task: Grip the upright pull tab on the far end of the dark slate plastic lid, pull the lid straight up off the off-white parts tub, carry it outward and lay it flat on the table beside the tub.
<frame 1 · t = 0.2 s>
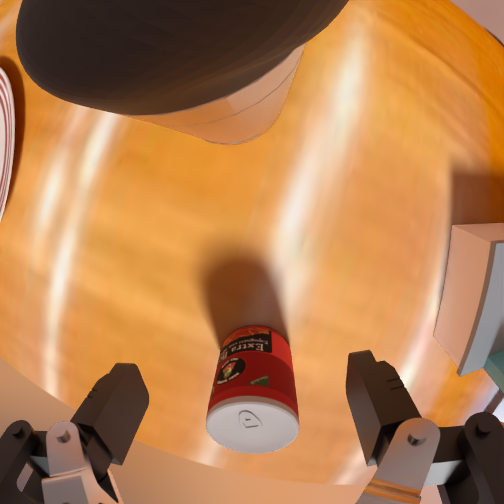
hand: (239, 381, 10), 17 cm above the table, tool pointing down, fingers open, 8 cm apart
tub: (478, 279, 26), on the table
canned food: (256, 351, 30), on the table
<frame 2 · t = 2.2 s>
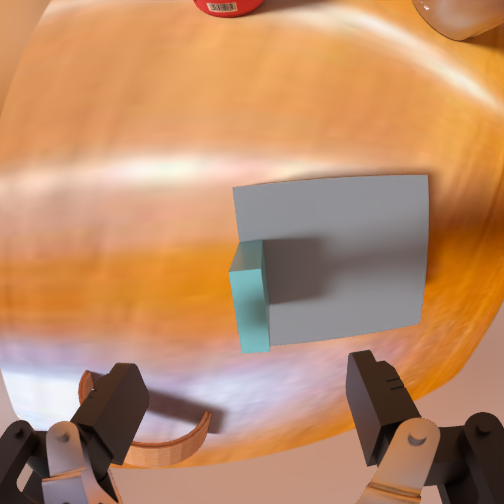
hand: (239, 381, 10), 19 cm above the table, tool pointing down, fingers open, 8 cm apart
lid: (341, 262, 21), point 7 cm above the table, touching tub
arch: (145, 403, 36), on the table
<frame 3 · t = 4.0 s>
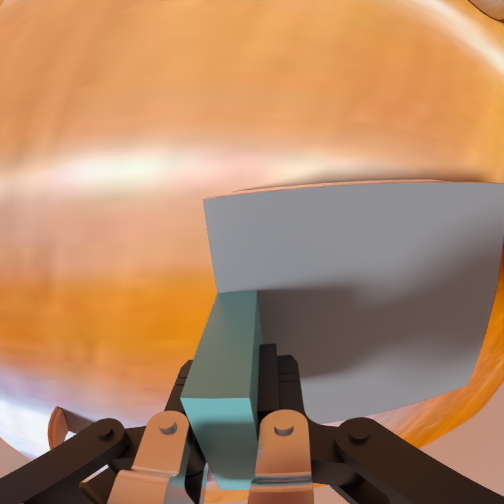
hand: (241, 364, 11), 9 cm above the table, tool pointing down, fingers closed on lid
tub: (344, 269, 19), on the table
lid: (380, 317, 12), point 7 cm above the table, touching gripper, tub
arch: (124, 446, 27), on the table
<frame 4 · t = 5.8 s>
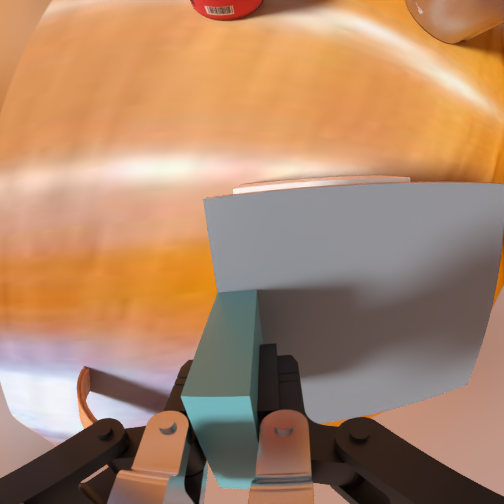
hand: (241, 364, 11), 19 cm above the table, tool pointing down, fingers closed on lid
tub: (316, 238, 28), on the table
lid: (380, 317, 13), point 16 cm above the table, touching gripper
arch: (142, 403, 36), on the table
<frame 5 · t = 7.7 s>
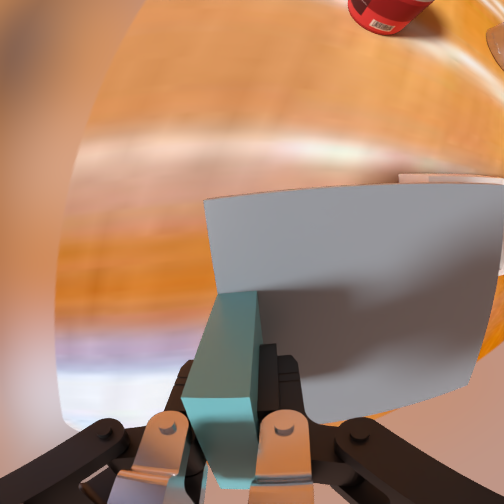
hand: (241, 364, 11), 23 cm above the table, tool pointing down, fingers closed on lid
tub: (443, 219, 31), on the table
canned food: (374, 14, 24), on the table
lid: (380, 317, 13), point 20 cm above the table, touching gripper
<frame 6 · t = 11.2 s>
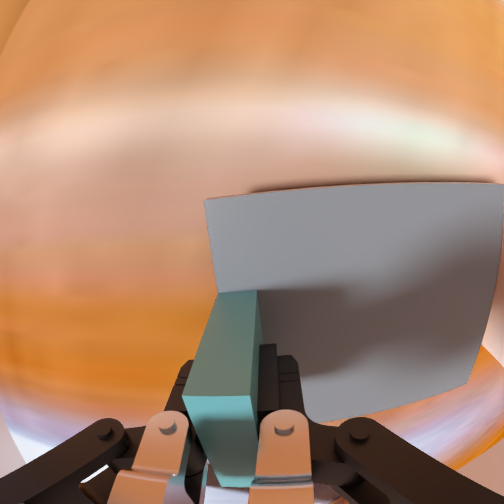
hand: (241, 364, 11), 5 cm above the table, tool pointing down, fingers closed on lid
lid: (379, 316, 13), point 2 cm above the table, touching gripper
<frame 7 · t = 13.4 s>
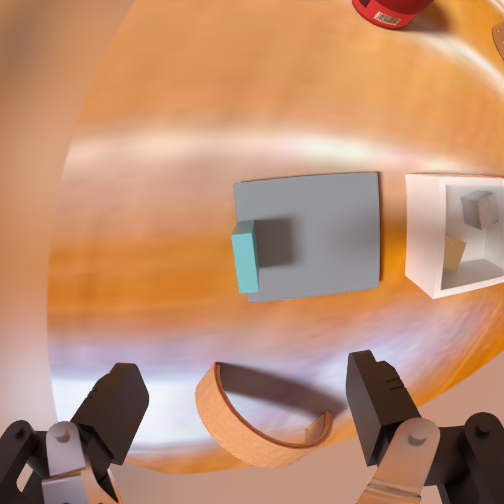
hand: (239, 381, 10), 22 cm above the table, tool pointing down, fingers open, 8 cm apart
tub: (451, 222, 29), on the table
brass part: (436, 245, 29), point 1 cm above the table, touching tub
canned food: (379, 7, 22), on the table
steel part: (471, 206, 27), point 1 cm above the table, touching tub
lid: (312, 237, 29), point 1 cm above the table
arch: (267, 401, 37), on the table
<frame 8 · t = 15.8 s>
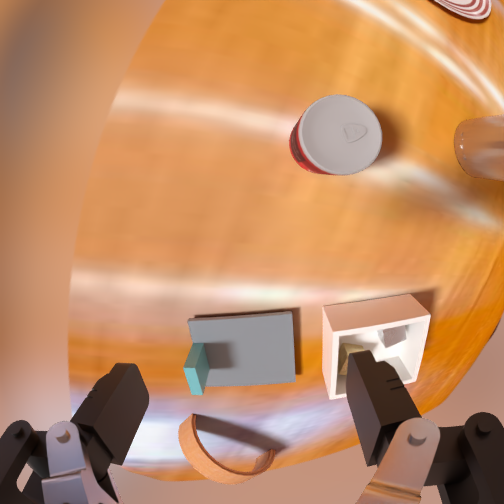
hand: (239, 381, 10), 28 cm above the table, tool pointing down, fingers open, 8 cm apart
tub: (366, 334, 40), on the table
brass part: (348, 353, 41), point 1 cm above the table, touching tub
canned food: (319, 144, 34), on the table
steel part: (386, 323, 39), point 1 cm above the table, touching tub
lid: (244, 351, 41), point 1 cm above the table
arch: (228, 438, 49), on the table
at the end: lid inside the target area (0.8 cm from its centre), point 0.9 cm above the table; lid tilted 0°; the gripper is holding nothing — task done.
